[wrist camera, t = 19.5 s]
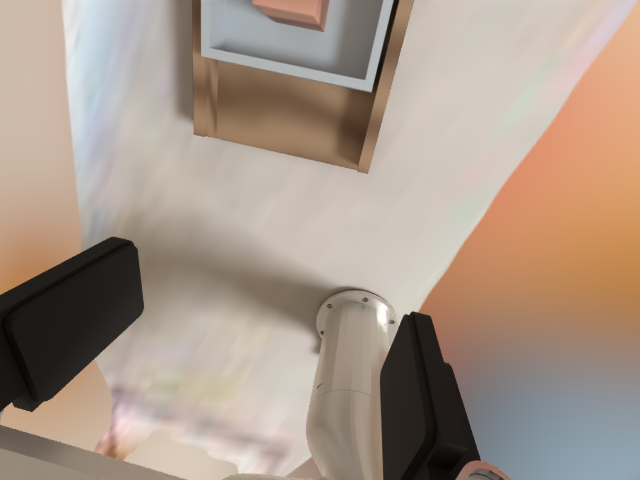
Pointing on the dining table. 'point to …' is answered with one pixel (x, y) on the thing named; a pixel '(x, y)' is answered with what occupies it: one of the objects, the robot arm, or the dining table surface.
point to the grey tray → (299, 41)
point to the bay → (295, 104)
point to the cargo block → (296, 12)
